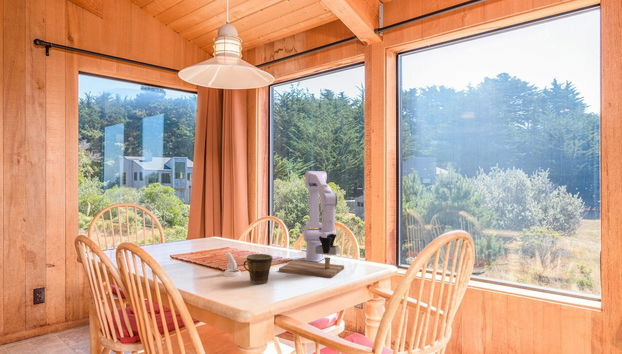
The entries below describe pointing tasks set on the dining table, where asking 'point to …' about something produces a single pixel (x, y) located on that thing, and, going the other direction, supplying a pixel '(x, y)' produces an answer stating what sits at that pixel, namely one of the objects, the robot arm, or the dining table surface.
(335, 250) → the silver rectangular frame
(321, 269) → the keeper board
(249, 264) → the ceramic cup
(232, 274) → the hook
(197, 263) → the dining table surface
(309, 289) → the dining table surface
